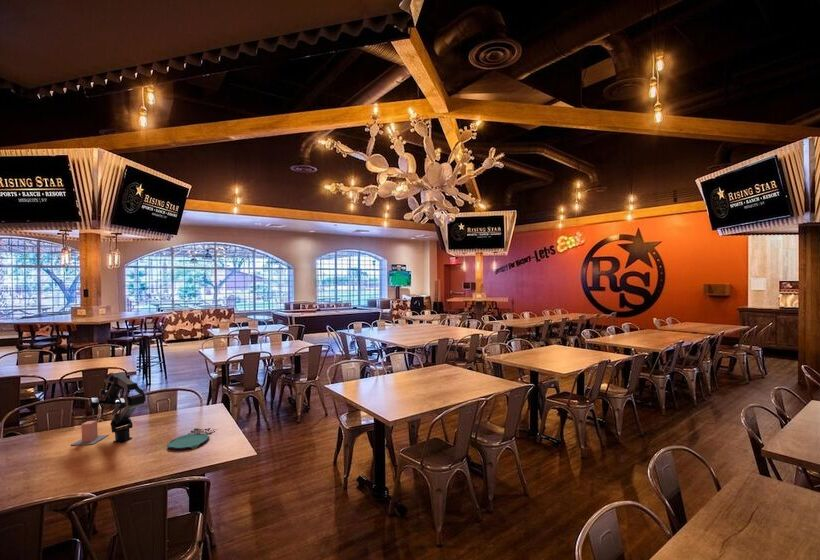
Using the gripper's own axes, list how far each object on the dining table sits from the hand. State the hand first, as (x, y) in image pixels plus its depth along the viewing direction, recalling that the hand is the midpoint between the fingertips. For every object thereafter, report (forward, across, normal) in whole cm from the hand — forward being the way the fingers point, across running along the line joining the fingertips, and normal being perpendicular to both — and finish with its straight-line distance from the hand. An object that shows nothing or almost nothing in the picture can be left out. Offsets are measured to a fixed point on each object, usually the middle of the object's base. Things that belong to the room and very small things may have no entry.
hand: (102, 415), depth 228 cm
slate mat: (+14, +2, +5) cm, 14 cm away
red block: (+13, +2, +4) cm, 14 cm away
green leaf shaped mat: (-15, -31, +47) cm, 58 cm away
